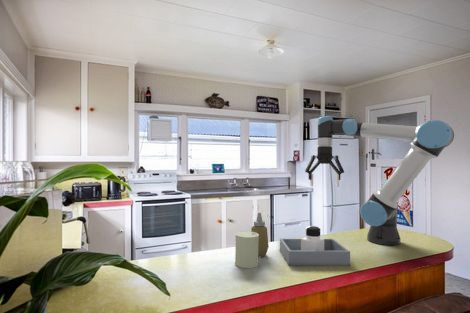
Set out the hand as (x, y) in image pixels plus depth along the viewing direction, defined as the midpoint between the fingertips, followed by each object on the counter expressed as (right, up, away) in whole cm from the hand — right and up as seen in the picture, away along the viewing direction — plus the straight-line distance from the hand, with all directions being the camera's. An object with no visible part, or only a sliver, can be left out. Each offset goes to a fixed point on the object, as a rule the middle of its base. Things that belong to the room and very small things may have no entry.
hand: (324, 186), depth 157 cm
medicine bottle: (-15, -26, -34) cm, 45 cm away
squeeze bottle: (-37, -26, -32) cm, 55 cm away
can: (-43, -26, -42) cm, 65 cm away
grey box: (-15, -26, -34) cm, 45 cm away
